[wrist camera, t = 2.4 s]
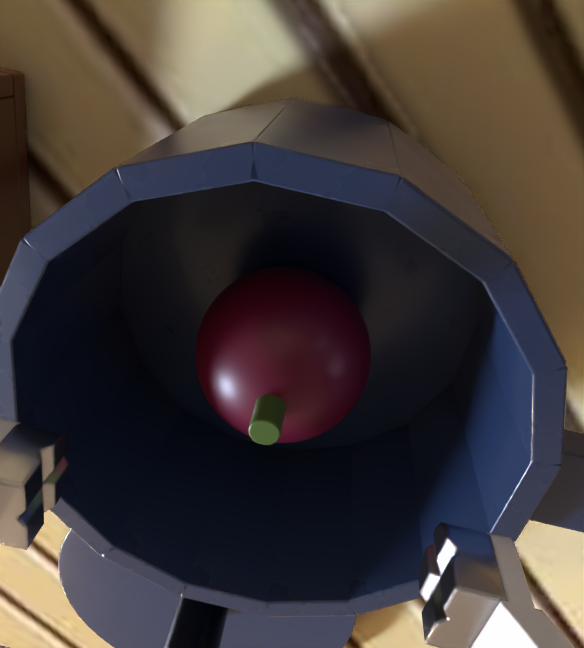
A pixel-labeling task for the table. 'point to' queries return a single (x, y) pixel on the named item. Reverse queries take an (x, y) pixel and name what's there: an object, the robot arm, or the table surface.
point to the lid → (176, 612)
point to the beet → (282, 355)
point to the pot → (329, 447)
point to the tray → (12, 167)
